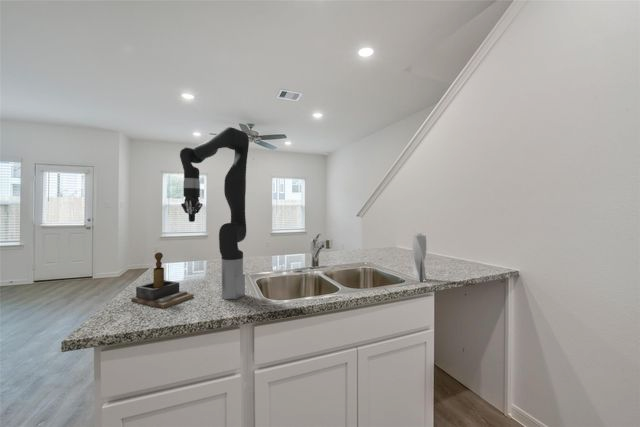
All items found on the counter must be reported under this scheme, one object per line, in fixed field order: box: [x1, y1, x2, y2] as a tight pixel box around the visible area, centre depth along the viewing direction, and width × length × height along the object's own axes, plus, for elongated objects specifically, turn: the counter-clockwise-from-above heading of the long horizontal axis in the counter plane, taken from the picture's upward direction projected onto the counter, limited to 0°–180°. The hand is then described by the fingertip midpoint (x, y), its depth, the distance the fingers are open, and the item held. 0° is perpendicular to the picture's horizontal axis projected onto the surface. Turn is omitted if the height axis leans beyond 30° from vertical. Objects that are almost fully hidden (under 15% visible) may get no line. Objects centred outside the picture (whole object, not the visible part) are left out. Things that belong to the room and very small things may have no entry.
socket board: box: [130, 279, 194, 309], centre depth 110 cm, size 20×14×6 cm
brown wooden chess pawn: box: [152, 252, 165, 289], centre depth 111 cm, size 7×6×18 cm
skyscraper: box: [411, 230, 427, 283], centre depth 143 cm, size 8×8×28 cm
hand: (191, 221), depth 129 cm, fingers closed
